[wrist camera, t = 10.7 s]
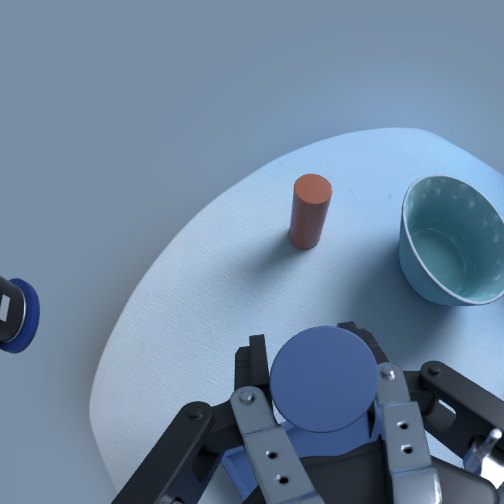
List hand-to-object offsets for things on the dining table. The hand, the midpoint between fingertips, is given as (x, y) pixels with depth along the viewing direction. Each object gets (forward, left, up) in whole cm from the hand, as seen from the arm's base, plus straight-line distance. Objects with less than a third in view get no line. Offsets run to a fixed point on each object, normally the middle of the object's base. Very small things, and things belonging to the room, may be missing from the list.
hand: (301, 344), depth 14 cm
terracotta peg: (+9, +12, -16) cm, 22 cm away
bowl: (+22, +1, -16) cm, 28 cm away
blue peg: (-1, -2, -4) cm, 4 cm away
